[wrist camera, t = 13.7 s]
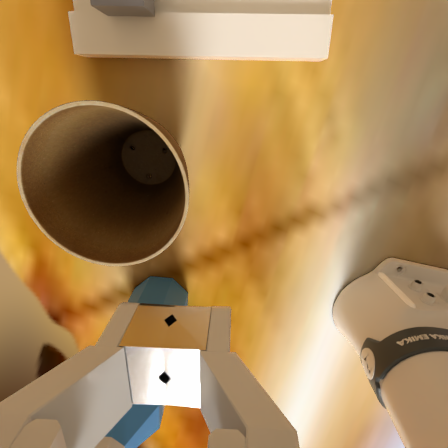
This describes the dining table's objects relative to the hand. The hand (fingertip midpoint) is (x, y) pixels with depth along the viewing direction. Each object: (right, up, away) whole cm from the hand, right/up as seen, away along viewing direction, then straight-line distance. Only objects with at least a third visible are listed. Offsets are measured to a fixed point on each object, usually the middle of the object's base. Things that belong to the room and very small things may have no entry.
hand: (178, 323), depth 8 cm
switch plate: (-1, +28, +25) cm, 38 cm away
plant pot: (-9, +12, +33) cm, 36 cm away
